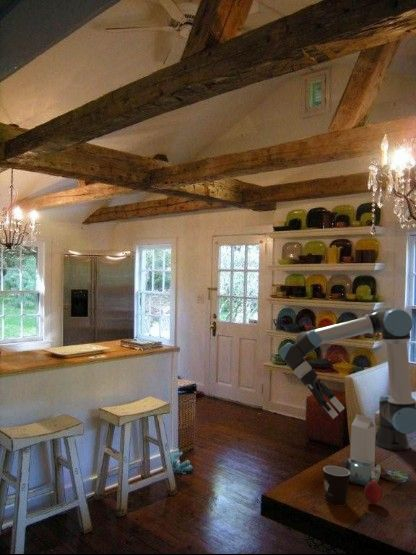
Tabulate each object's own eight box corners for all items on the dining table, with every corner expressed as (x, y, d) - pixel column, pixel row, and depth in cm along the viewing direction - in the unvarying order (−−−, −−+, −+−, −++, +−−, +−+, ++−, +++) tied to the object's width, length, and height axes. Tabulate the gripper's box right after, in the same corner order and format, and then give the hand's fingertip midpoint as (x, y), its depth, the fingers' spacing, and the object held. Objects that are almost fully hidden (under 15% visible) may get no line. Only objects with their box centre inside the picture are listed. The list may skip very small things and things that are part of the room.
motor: (349, 466, 178) (349, 447, 179) (380, 473, 173) (381, 453, 173) (339, 483, 161) (340, 462, 162) (374, 491, 156) (374, 469, 156)
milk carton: (365, 466, 179) (367, 419, 180) (350, 461, 184) (351, 415, 185) (374, 463, 184) (375, 416, 185) (358, 457, 189) (360, 412, 190)
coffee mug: (350, 509, 141) (351, 477, 142) (322, 505, 143) (323, 473, 143) (346, 493, 152) (347, 464, 153) (320, 490, 154) (321, 461, 155)
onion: (372, 509, 141) (373, 484, 142) (359, 501, 147) (360, 477, 147) (386, 507, 144) (387, 482, 144) (373, 499, 149) (373, 475, 149)
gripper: (307, 375, 209) (338, 412, 202) (291, 383, 187) (325, 425, 180) (319, 365, 207) (351, 402, 199) (304, 372, 185) (339, 414, 177)
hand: (339, 413), depth 190 cm, fingers open, 13 cm apart
